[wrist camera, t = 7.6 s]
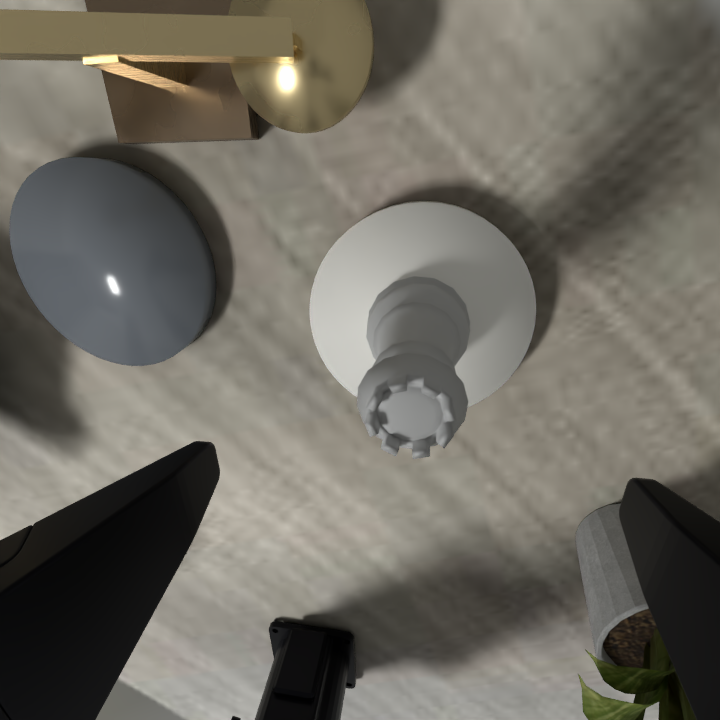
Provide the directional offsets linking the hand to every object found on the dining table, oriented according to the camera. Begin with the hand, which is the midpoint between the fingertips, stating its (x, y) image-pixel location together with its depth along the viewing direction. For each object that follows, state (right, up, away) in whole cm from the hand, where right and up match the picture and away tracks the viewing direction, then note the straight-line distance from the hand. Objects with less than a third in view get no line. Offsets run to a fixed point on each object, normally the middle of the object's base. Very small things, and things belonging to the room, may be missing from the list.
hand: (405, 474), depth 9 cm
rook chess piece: (+2, +4, +10) cm, 11 cm away
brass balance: (-8, +14, +8) cm, 18 cm away
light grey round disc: (+2, +5, +10) cm, 12 cm away
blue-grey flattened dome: (-13, +7, +12) cm, 19 cm away
